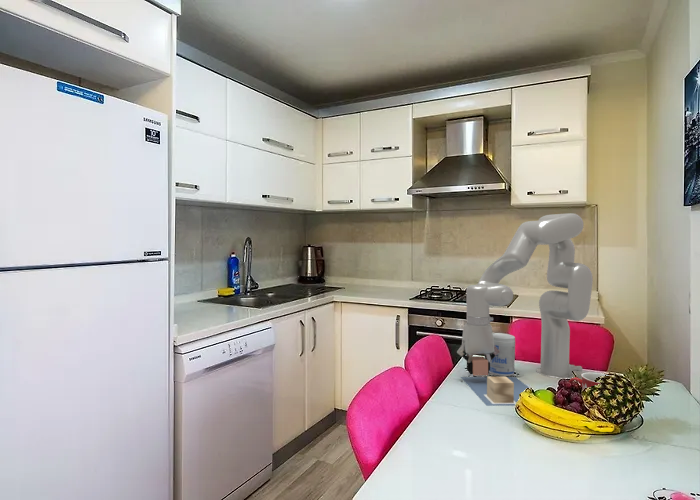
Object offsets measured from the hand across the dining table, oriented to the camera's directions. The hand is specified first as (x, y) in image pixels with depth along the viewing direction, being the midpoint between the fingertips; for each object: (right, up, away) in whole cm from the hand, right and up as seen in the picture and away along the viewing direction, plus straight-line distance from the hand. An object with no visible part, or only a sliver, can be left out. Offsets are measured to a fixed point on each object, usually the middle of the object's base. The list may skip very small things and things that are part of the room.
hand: (478, 372), depth 146 cm
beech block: (+2, -4, -16) cm, 17 cm away
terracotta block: (0, 0, 0) cm, 0 cm away
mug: (+21, -5, -31) cm, 38 cm away
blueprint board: (+5, -5, -8) cm, 11 cm away
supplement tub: (+12, -4, +11) cm, 17 cm away
